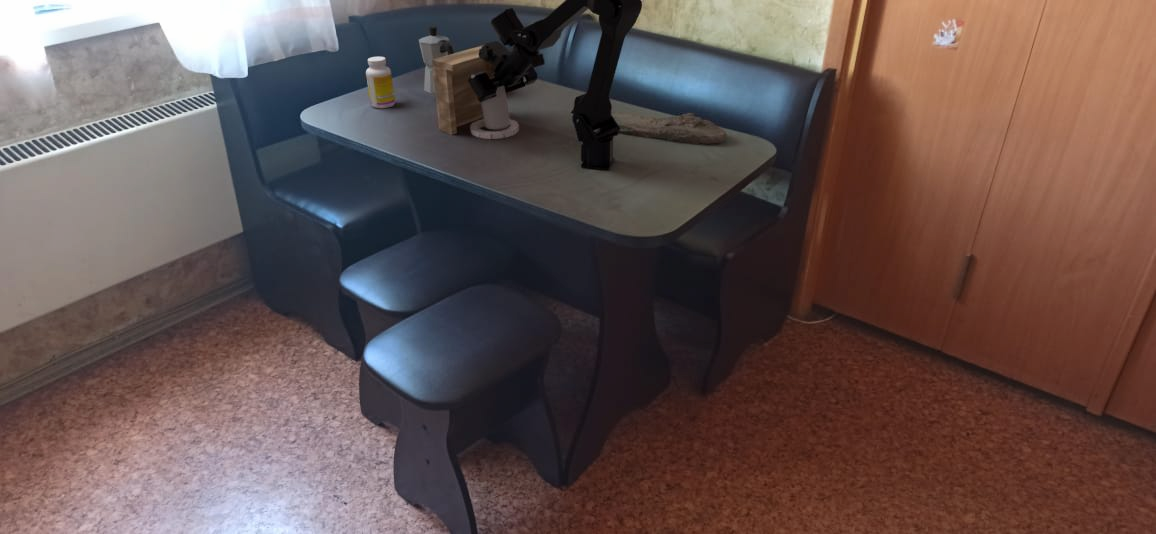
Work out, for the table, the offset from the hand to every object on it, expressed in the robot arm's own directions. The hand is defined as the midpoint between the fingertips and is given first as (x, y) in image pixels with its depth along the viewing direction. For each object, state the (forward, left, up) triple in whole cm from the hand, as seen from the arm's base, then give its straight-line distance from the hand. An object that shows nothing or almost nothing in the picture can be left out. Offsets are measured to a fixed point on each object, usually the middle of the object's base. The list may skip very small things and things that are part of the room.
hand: (488, 97), depth 194 cm
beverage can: (-2, +1, -7) cm, 8 cm away
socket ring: (-1, +1, -8) cm, 8 cm away
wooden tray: (+5, -2, -8) cm, 10 cm away
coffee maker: (+26, -25, -8) cm, 37 cm away
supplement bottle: (+36, -9, -8) cm, 38 cm away
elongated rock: (-41, -9, -9) cm, 43 cm away
